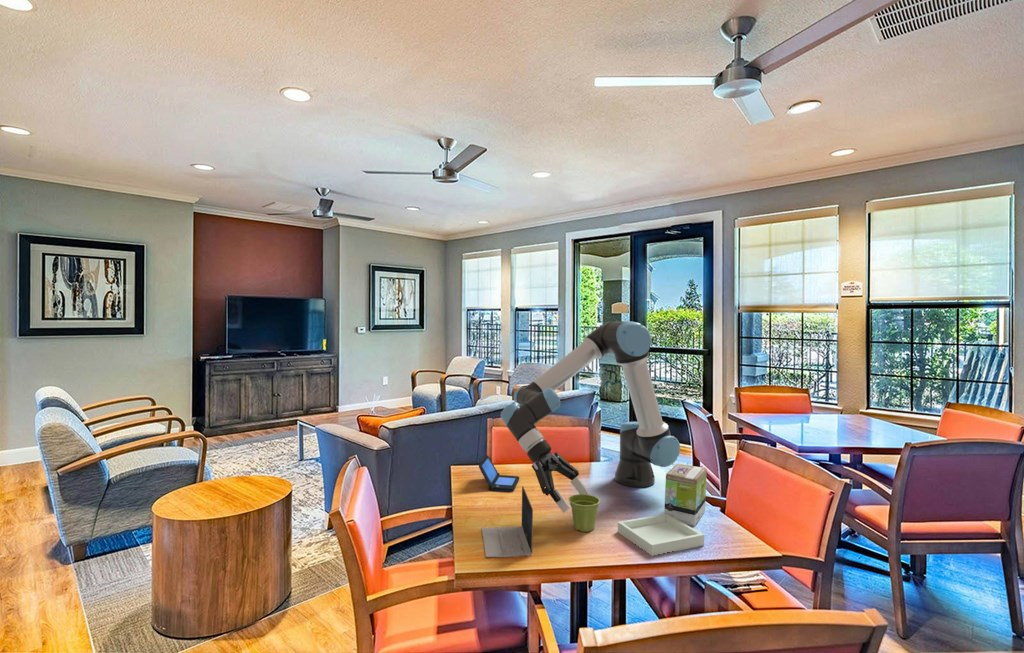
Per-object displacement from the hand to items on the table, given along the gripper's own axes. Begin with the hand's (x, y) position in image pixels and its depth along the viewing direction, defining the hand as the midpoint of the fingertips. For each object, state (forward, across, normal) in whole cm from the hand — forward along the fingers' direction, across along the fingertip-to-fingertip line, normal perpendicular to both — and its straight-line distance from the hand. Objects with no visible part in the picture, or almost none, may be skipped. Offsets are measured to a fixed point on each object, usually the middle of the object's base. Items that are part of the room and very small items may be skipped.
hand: (577, 503), depth 151 cm
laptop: (-3, +20, -14) cm, 25 cm away
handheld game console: (-24, -18, -35) cm, 46 cm away
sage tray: (+22, -7, +11) cm, 25 cm away
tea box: (+23, -29, +12) cm, 39 cm away
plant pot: (+7, -1, -4) cm, 8 cm away
